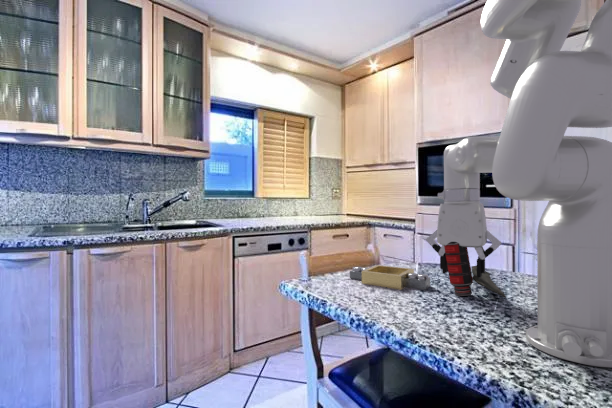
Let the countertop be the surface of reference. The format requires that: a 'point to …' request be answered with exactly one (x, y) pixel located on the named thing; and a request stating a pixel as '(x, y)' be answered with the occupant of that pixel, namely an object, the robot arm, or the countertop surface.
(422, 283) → the chain joint
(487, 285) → the tool
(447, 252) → the grenade
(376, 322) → the countertop surface
